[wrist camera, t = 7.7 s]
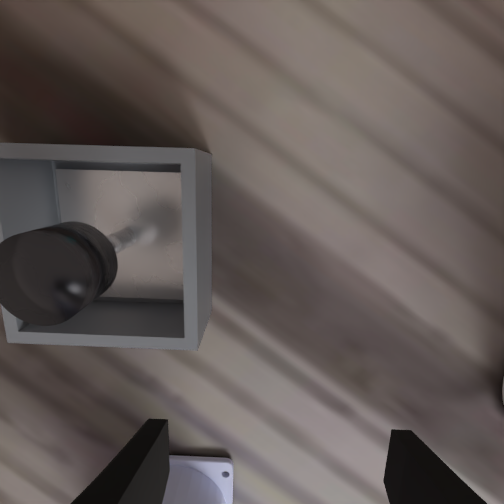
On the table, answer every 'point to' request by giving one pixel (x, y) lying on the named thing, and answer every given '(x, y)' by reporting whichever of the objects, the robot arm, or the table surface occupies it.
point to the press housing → (114, 308)
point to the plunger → (97, 246)
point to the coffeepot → (503, 390)
